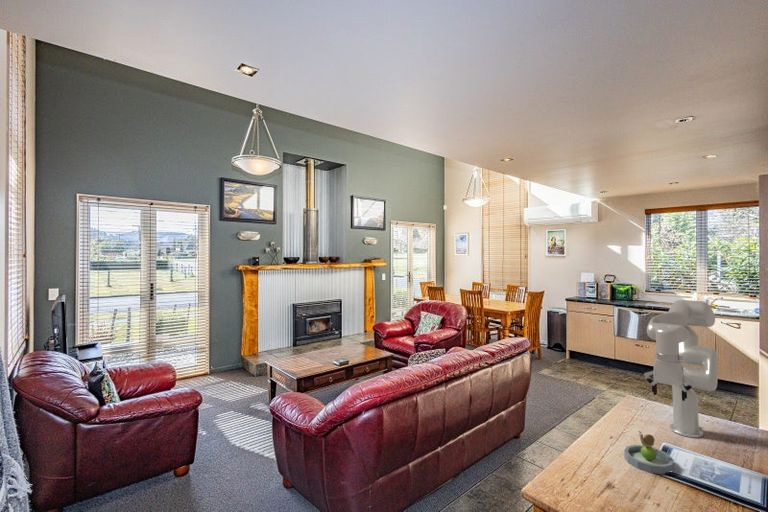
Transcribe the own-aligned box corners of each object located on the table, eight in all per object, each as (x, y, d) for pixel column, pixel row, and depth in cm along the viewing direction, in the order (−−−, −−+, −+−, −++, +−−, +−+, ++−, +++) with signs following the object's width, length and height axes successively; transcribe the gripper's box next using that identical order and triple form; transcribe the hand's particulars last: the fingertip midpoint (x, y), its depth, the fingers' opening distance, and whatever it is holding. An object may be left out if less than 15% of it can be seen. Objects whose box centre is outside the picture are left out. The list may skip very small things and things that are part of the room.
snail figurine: (635, 456, 159) (634, 428, 159) (649, 455, 159) (648, 427, 159) (645, 463, 153) (644, 434, 153) (660, 462, 154) (659, 433, 154)
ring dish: (630, 447, 168) (629, 441, 168) (676, 461, 156) (676, 454, 156) (620, 463, 156) (620, 456, 156) (669, 479, 144) (669, 471, 144)
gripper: (695, 358, 154) (696, 399, 155) (645, 351, 167) (646, 389, 167) (692, 363, 149) (694, 405, 150) (641, 356, 162) (642, 394, 162)
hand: (669, 396), depth 159 cm, fingers open, 9 cm apart
